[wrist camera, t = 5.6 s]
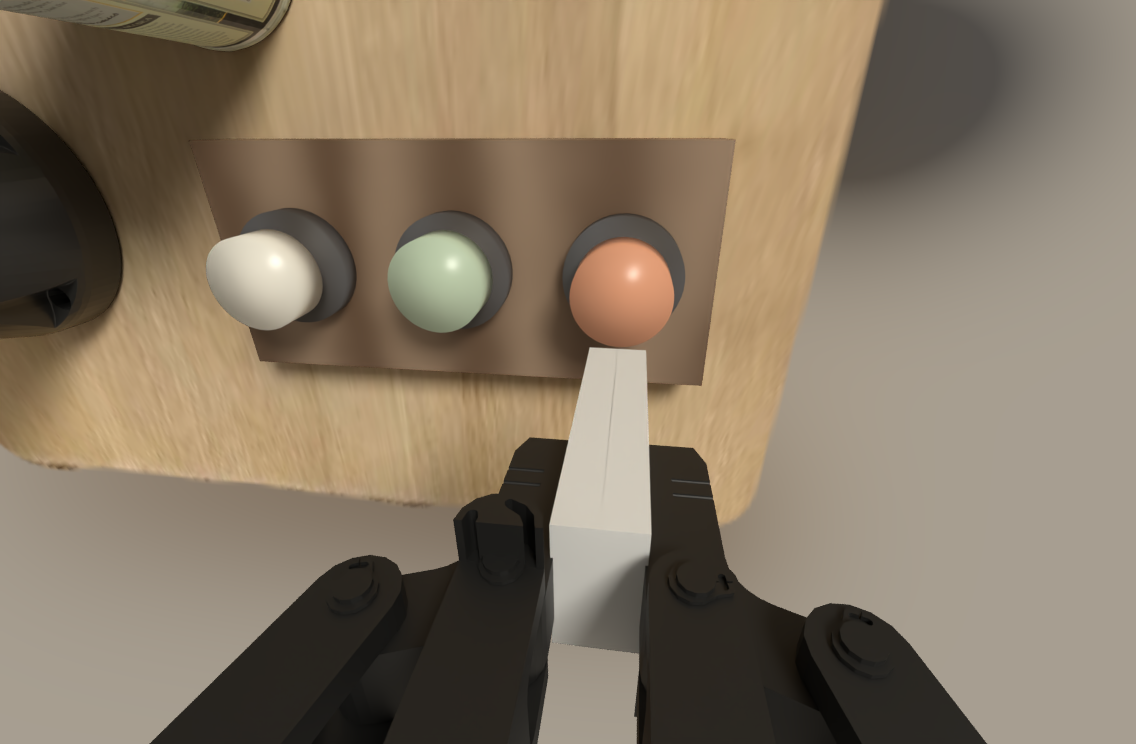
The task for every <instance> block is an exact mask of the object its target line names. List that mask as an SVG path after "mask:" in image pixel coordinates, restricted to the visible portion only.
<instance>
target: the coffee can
mask: <svg viewBox="0 0 1136 744" xmlns="http://www.w3.org/2000/svg"><path fill="white" fill-rule="evenodd" d="M289 3H290V0H0V10H5V11H10V12H16V13H22V14H27V15H33V16H39V17H44V18H50V19H55V20H61V21H67V22H72V23H78V24H83V25H87V26H93V27H99V28H105V29H111V30H116V31H122V32H127V33H133V34H138V35H144V36H149V37H155V38H161V39H166V40H172V41H177V42H183V43H188V44H193V45H196V46H199V47H202V48H206V49H211V50H218V51H236V50H239V49H243V48H247V47H249V46H252V45H254V44H256V43H258V42H260V41H261V40H263V39H264V38H265V37H267V36H268V35H269V34H270V33H271V32H272V31H273V30H274V29H275V28H276V26H277V25H278V24H279V23H280V21H281V20H282V18H283V16H284V14H285V13H286V11H287V10H288V6H289Z"/></svg>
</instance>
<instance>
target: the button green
mask: <svg viewBox="0 0 1136 744" xmlns="http://www.w3.org/2000/svg"><path fill="white" fill-rule="evenodd" d="M492 285H493V276H492V270H491V266H490V263H489V261H488V259H487V257H486V255H485V254H484V252H483V251H482V249H481V248H480V247H479V246H478V245H477V244H476V243H475V242H474V241H472V240H471V239H469V238H468V237H466V236H464V235H462V234H460V233H457V232H454V231H450V230H437V231H432V232H429V233H427V234H425V235H423V236H421V237H419V238H417V239H415V240H413V241H411V242H409V243H407V244H405V245H404V246H402V247H401V248H400V249H399V250H398V251H397V252H396V253H395V255H394V256H393V258H392V260H391V262H390V265H389V268H388V287H389V291H390V294H391V297H392V299H393V301H394V303H395V305H396V306H397V308H398V309H399V311H400V312H401V313H402V314H403V315H404V316H405V317H406V318H407V319H408V320H409V321H411V322H412V323H413V324H415V325H417V326H418V327H420V328H422V329H425V330H428V331H432V332H439V333H446V332H452V331H455V330H458V329H460V328H462V327H464V326H465V325H467V324H468V323H469V322H470V321H471V320H472V319H473V318H474V317H475V315H476V314H477V313H478V312H479V311H480V310H481V308H482V307H483V306H484V305H485V304H486V302H487V300H488V299H489V297H490V294H491V291H492Z"/></svg>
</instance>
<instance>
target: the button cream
mask: <svg viewBox="0 0 1136 744" xmlns="http://www.w3.org/2000/svg"><path fill="white" fill-rule="evenodd" d="M206 275H207V280H208V283H209V286H210V288H211V291H212V293H213V295H214V296H215V298H216V299H217V301H218V302H219V304H220V305H221V306H222V307H223V308H224V309H225V310H226V311H227V312H228V313H229V314H230V315H231V316H232V317H234V318H235V319H236V320H238V321H239V322H241V323H243V324H245V325H247V326H249V327H252V328H255V329H259V330H275V329H279V328H281V327H283V326H285V325H287V324H289V323H290V322H292V321H294V320H296V319H298V318H299V317H301V316H303V315H305V314H306V313H308V312H310V311H311V310H313V309H314V308H315V307H316V306H317V304H318V302H319V301H320V298H321V295H322V288H323V284H322V276H321V273H320V270H319V267H318V265H317V263H316V261H315V259H314V258H313V256H312V255H311V253H310V252H309V251H308V250H307V249H306V248H305V247H304V246H303V245H302V244H301V243H300V242H299V241H297V240H296V239H295V238H293V237H292V236H290V235H288V234H286V233H283V232H281V231H277V230H272V229H262V230H257V231H254V232H250V233H246V234H243V235H239V236H235V237H231V238H228V239H225V240H222V241H220V242H219V243H217V244H216V245H215V246H214V247H213V248H212V249H211V251H210V253H209V255H208V258H207V262H206Z"/></svg>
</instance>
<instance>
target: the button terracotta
mask: <svg viewBox="0 0 1136 744" xmlns="http://www.w3.org/2000/svg"><path fill="white" fill-rule="evenodd" d="M569 298H570V307H571V311H572V314H573V317H574V319H575V321H576V322H577V324H578V325H579V327H580V328H581V329H582V330H583V331H584V332H585V333H586V334H587V335H588V336H589V337H591V338H592V339H594V340H595V341H597V342H599V343H602V344H605V345H608V346H613V347H630V346H635V345H638V344H641V343H643V342H646V341H647V340H649V339H651V338H652V337H654V336H655V335H656V334H657V333H658V332H660V331H661V329H662V328H663V327H664V326H665V324H666V323H667V321H668V320H669V317H670V315H671V313H672V309H673V305H674V288H673V284H672V279H671V275H670V271H669V268H668V265H667V263H666V261H665V259H664V258H663V256H662V255H661V254H660V253H659V252H658V251H657V250H656V249H655V248H654V247H653V246H651V245H650V244H648V243H646V242H644V241H642V240H639V239H636V238H631V237H617V238H611V239H608V240H605V241H603V242H601V243H599V244H597V245H596V246H594V247H593V248H592V249H591V250H589V252H588V253H587V254H586V255H585V256H584V257H583V259H582V260H581V262H580V264H579V266H578V269H577V271H576V273H575V276H574V278H573V281H572V284H571V288H570V297H569Z"/></svg>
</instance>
